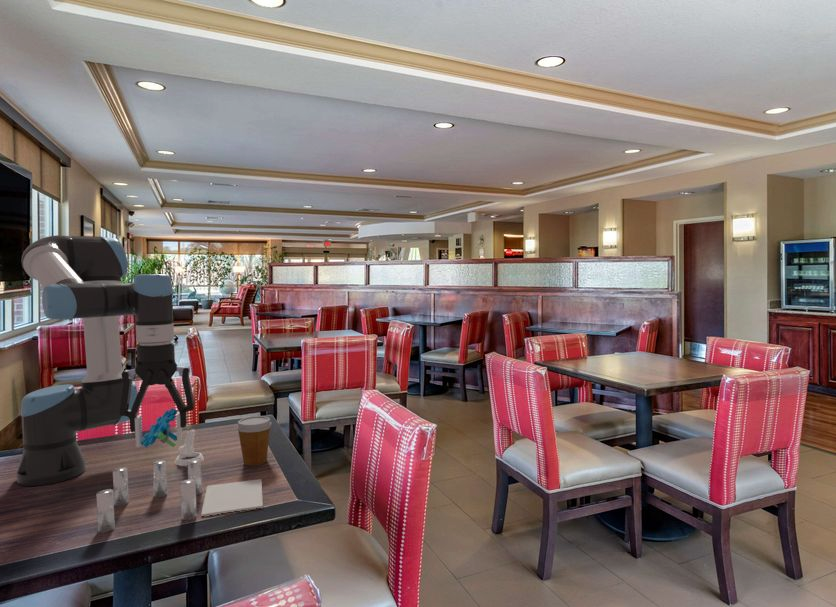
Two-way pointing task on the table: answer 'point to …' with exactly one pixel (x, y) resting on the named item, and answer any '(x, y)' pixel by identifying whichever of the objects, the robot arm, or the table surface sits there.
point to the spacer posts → (121, 494)
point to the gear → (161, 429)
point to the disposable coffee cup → (254, 439)
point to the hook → (188, 450)
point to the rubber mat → (232, 497)
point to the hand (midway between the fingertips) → (159, 443)
